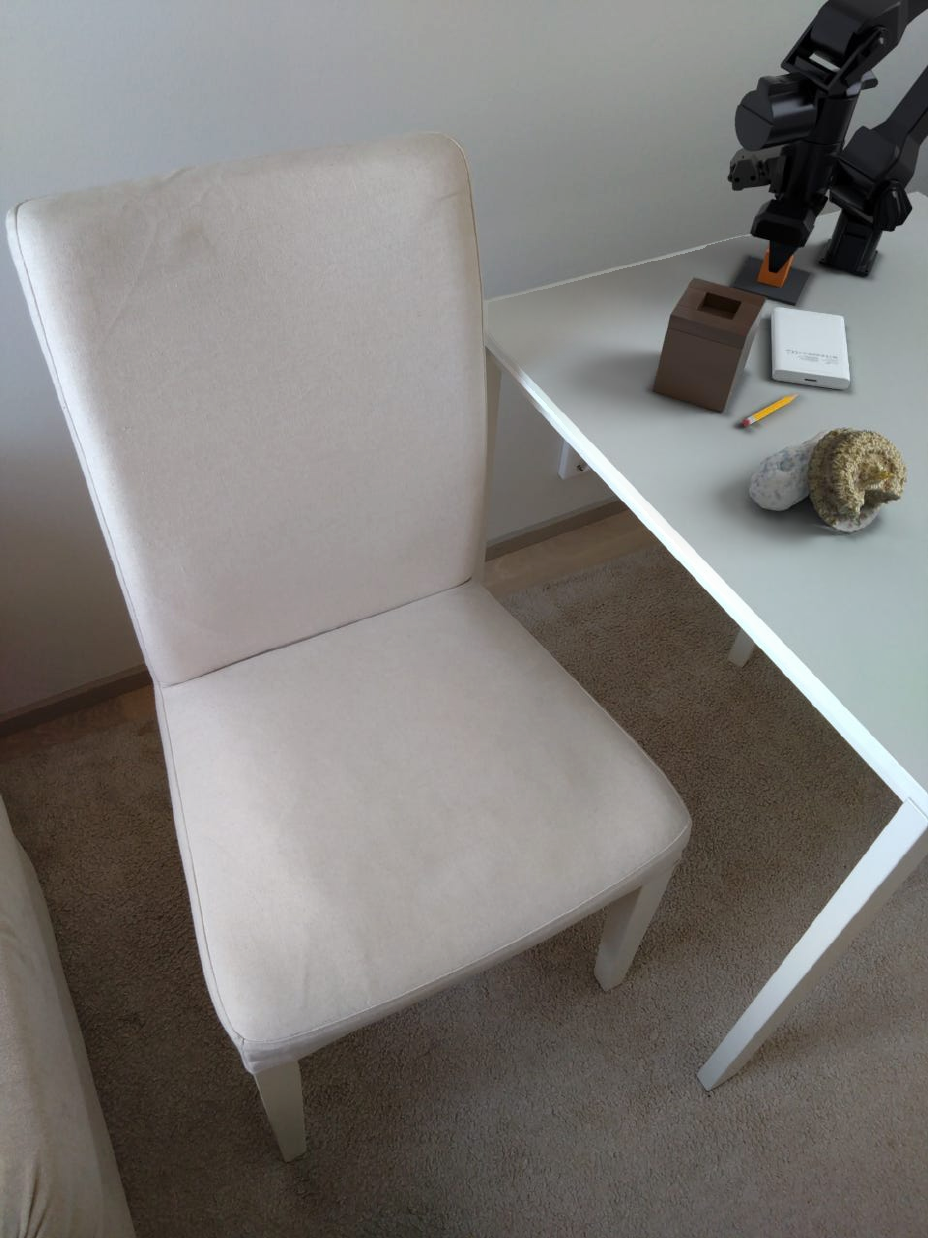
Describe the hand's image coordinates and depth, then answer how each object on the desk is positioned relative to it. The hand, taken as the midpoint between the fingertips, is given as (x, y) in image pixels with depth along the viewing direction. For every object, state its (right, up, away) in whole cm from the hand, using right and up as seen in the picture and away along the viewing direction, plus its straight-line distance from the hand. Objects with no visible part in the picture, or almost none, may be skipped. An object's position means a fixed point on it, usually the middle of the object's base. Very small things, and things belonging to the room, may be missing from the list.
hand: (776, 264), depth 113 cm
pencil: (-6, -22, -15) cm, 27 cm away
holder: (-13, -18, -12) cm, 25 cm away
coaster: (0, -1, +2) cm, 2 cm away
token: (0, -1, +2) cm, 2 cm away
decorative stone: (-1, -33, -22) cm, 40 cm away
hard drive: (+1, -13, -7) cm, 15 cm away
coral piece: (-3, -31, -26) cm, 40 cm away
